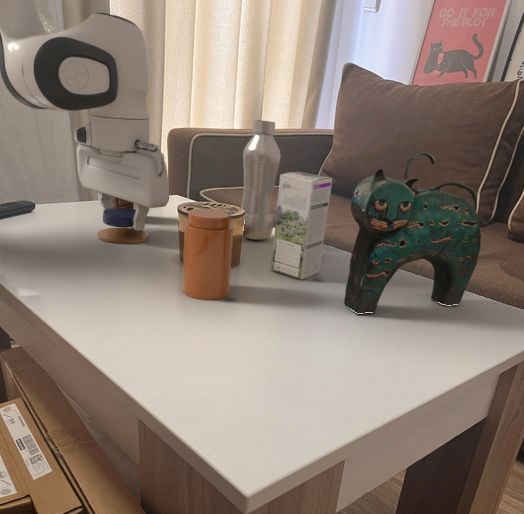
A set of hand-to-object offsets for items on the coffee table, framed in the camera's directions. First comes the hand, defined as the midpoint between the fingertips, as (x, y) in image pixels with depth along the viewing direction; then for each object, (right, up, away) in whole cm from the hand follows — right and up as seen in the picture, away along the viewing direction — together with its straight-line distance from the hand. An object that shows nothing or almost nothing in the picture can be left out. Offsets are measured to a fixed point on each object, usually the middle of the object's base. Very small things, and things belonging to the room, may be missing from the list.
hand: (123, 224), depth 89 cm
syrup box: (+29, -9, -8) cm, 31 cm away
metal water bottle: (+22, -1, +8) cm, 24 cm away
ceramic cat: (+42, -15, -17) cm, 48 cm away
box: (-3, +4, +13) cm, 14 cm away
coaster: (0, -2, +1) cm, 2 cm away
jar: (+16, -13, -19) cm, 28 cm away
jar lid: (0, +1, -1) cm, 2 cm away
